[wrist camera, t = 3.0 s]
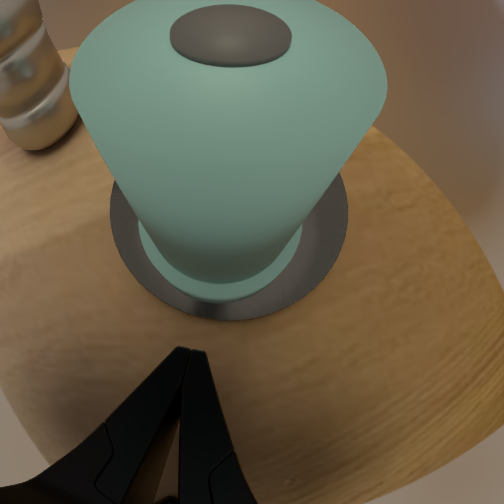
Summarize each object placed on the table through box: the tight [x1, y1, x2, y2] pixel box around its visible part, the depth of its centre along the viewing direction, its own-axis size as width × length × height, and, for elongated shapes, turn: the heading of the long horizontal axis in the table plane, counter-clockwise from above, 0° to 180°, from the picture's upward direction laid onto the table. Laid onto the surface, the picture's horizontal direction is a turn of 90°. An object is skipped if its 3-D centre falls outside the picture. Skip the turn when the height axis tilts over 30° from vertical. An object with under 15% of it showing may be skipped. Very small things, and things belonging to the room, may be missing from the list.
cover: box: [69, 0, 387, 304], centre depth 10 cm, size 7×7×11 cm
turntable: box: [110, 172, 348, 321], centre depth 16 cm, size 13×13×1 cm
